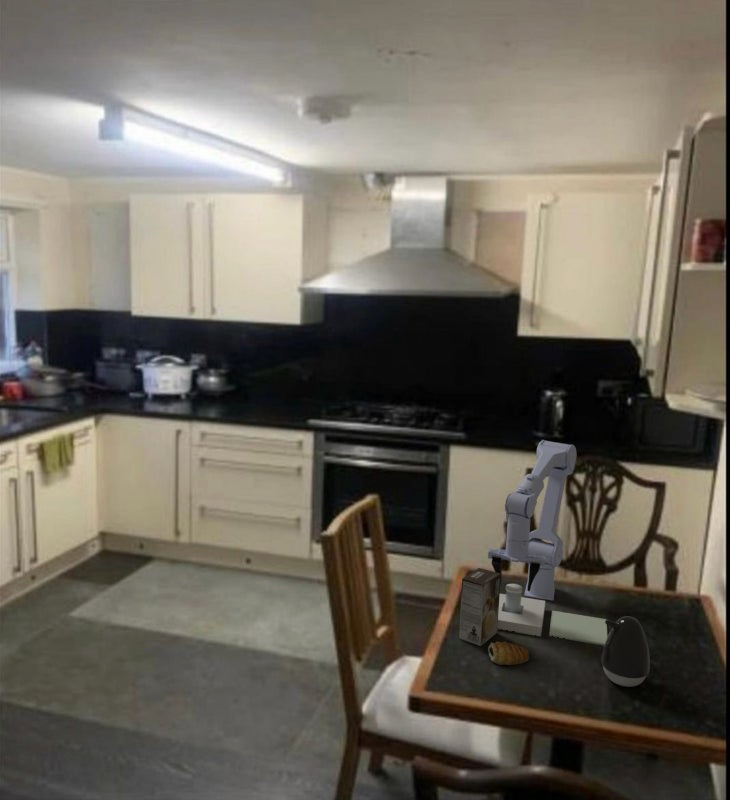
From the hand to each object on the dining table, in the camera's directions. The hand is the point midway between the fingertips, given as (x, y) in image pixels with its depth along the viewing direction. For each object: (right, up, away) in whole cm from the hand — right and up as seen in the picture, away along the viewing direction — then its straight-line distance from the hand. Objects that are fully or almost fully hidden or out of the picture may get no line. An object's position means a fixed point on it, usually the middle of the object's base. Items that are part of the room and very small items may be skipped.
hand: (514, 587), depth 187 cm
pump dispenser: (+19, -14, -27) cm, 36 cm away
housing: (0, -8, +1) cm, 9 cm away
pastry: (-6, -12, -19) cm, 23 cm away
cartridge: (0, -8, +1) cm, 9 cm away
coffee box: (-11, -10, -9) cm, 17 cm away
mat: (+16, -10, -3) cm, 19 cm away
